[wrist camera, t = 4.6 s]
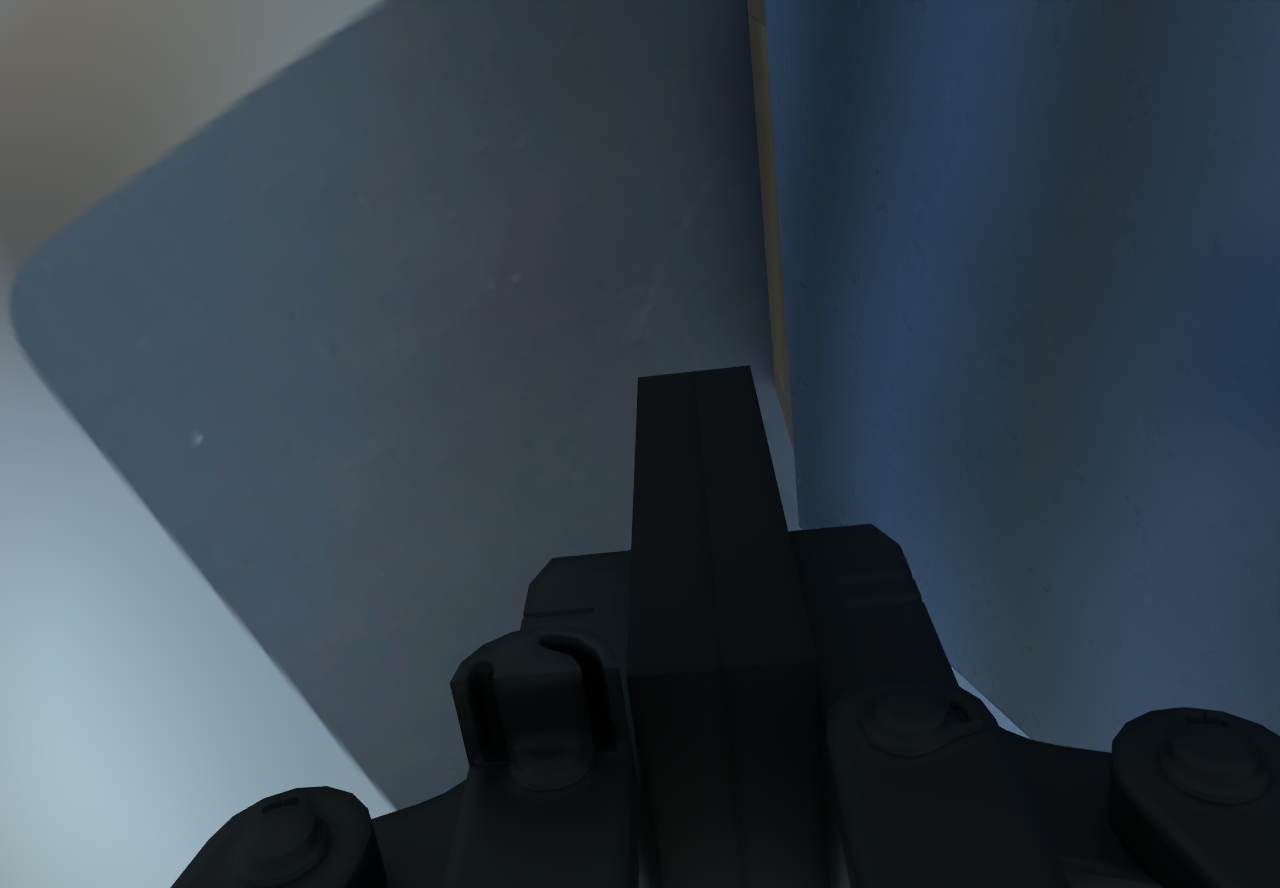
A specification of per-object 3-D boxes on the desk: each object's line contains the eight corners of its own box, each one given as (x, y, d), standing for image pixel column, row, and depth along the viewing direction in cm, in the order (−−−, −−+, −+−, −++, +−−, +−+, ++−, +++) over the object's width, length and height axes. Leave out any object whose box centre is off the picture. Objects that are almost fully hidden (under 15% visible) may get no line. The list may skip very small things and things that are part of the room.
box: (1388, -102, 26) (1665, -124, 19) (1323, 328, 31) (1527, 441, 23) (745, -19, 27) (779, -10, 20) (774, 387, 31) (811, 513, 24)
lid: (2383, -71, 5) (2291, -51, 5) (1714, 1272, 10) (1652, 1312, 9) (801, -12, 19) (761, -7, 19) (830, 518, 24) (797, 527, 24)
